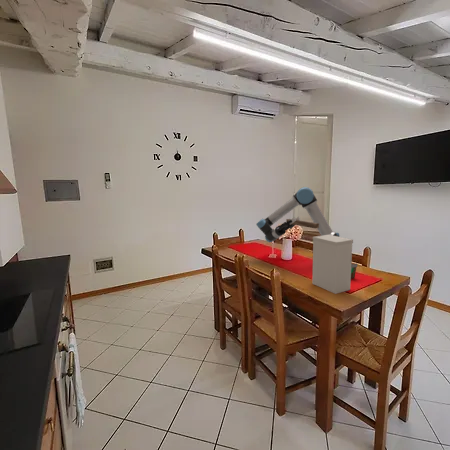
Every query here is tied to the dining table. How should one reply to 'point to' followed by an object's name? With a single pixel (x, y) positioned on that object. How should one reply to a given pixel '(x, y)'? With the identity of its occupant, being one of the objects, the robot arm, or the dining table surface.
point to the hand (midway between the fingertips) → (297, 218)
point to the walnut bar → (305, 223)
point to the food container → (353, 270)
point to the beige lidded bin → (332, 263)
